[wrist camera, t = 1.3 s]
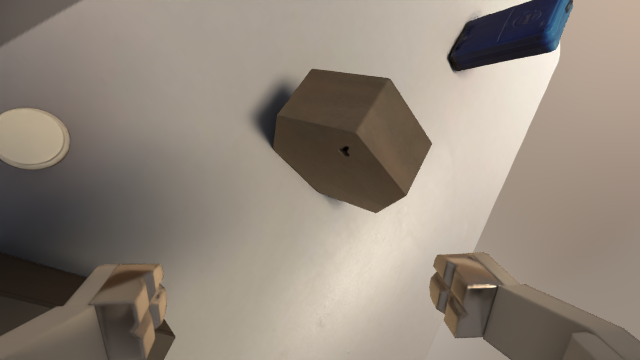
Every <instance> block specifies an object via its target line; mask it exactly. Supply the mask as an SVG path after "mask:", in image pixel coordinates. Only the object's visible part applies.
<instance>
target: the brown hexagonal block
mask: <svg viewBox="0 0 640 360" xmlns="http://www.w3.org/2000/svg"><path fill="white" fill-rule="evenodd" d="M431 145H432V143H431V141H430V140H429V138H428V136H427V135H426V133H425V132H424V130H423V129H422V127H421V126H420V124H419V122H418V121H417V119H416V118H415V116H414V115H413V113H412V112H411V110H410V108H409V107H408V105H407V104H406V102H405V101H404V99H403V98H402V96H401V95H400V93H399V91H398V90H397V88H396V87H395V85H394V84H393V82H392V81H391V79H389V78H383V77H375V76H367V75H359V74H350V73H342V72H334V71H326V70H318V69H311V71H310V72H309V73H308V75H307V76H306V77H305V79H304V80H303V81H302V83H301V84H300V85H299V87H298V88H297V89H296V91H295V92H294V93H293V95H292V96H291V97H290V99H289V100H288V101H287V103H286V104H285V105H284V107H283V108H282V109H281V111H280V112H279V113H278V115H277V120H276V128H275V137H274V145H273V149H274V150H275V151H276V152H277V153H278V154H279V155H280V156H281V157H282V158H283V159H284V160H285V161H286V162H287V163H288V164H289V165H290V166H291V167H292V168H293V169H294V170H295V171H296V172H297V173H298V174H300V175H301V176H302V177H303V178H304V179H305V180H306V181H307V182H308V183H309V184H310V185H311V186H312V187H313V188H314V189H315V190H316V191H318V192H320V193H322V194H325V195H328V196H330V197H333V198H336V199H339V200H341V201H344V202H347V203H349V204H352V205H355V206H358V207H360V208H363V209H366V210H369V211H371V212H374V213H377V212H379V211H381V210H383V209H384V208H386V207H388V206H389V205H391V204H393V203H395V202H396V201H398V200H400V199H401V198H403V197H405V196H406V195H407V193H408V191H409V189H410V187H411V185H412V183H413V181H414V179H415V177H416V175H417V173H418V171H419V169H420V167H421V165H422V163H423V161H424V159H425V157H426V155H427V153H428V151H429V149H430V147H431Z"/></svg>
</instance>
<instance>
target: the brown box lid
mask: <svg viewBox="0 0 640 360" xmlns="http://www.w3.org/2000/svg"><path fill="white" fill-rule="evenodd" d="M58 306H59V305H55V304H50V303H46V302H42V301H38V300H34V299H30V298H26V297H22V296H17V295H13V294H9V293H5V292H1V291H0V336H2V335H4V334H6V333H8V332H9V331H11V330H13V329H15V328H17V327H19V326H21V325H23V324H25V323H26V322H28V321H30V320H32V319H34V318H36V317H38V316H40V315H41V314H43V313H45V312H47V311H49V310H51V309H53V308H55V307H58ZM154 332H155V340H154V343H153V345H152V347H151V350H150V352H149V354H148V356H147V359H146V360H164V358H165V356H166V354H167V352H168V350H169V349H170V347H171V345H172V343H173V341H174V339H175V335H174V334H173V333H171V332H166V331H162V330H158V329H155V330H154Z"/></svg>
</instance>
